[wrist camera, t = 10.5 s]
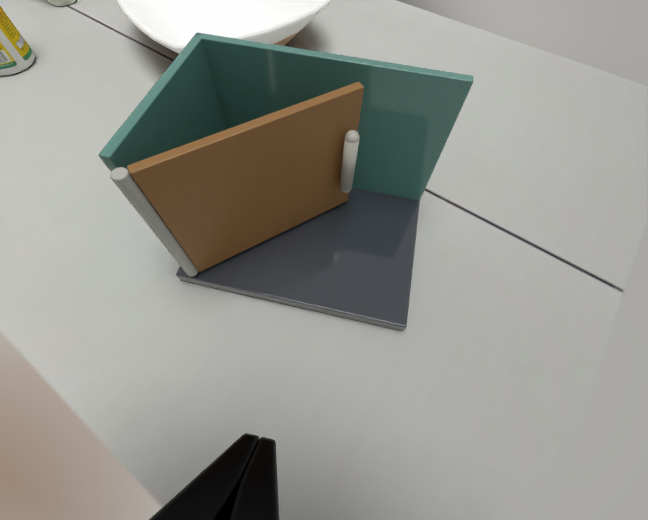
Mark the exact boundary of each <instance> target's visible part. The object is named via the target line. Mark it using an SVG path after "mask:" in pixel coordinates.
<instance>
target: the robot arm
mask: <svg viewBox="0 0 648 520" xmlns="http://www.w3.org/2000/svg"><path fill="white" fill-rule="evenodd" d="M150 520H279V503H278V483H277V462H276V442H275V440H273V439H269V438H265V437H261V438H259V436H256V435H252V434H248V433H246V434H243V435H242V436H241V437H240V438H239V439H238V440H237V441H236V442H234V443H233V444H232V445H231V446H230V447H229V448H228V449H227V450H226V451H224V452H223V453H222V454H221V455H220V456H219V457H218V458H217V459H216V460H215V461H213V462H212V463H211V464H210V465H209V466H208V467H207V468H206V469H205V470H203V471H202V472H201V473H200V474H199V475H198V476H197V477H196V478H195V479H194V480H192V481H191V482H190V483H189V484H188V485H187V486H186V487H185V488H184V489H182V490H181V491H180V492H179V493H178V494H177V495H176V496H175V497H174V498H173V499H171V500H170V501H169V502H168V503H167V504H166V505H165V506H164V507H163V508H161V509H160V510H159V511H158V512H157V513H156V514H155V515H154V516H153V517H152V518H150Z"/></svg>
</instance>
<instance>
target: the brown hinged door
mask: <svg viewBox="0 0 648 520" xmlns="http://www.w3.org/2000/svg"><path fill="white" fill-rule="evenodd" d="M363 92H364V86H363V85H362V84H361V83H360V82H356V83H353V84H351V85H348V86H345V87H342V88H340V89H337V90H334V91H331V92H329V93H326V94H323V95H320V96H318V97H315V98H312V99H309V100H306V101H304V102H301V103H298V104H295V105H293V106H290V107H287V108H284V109H282V110H279V111H276V112H273V113H271V114H268V115H265V116H262V117H260V118H257V119H254V120H251V121H249V122H246V123H243V124H240V125H238V126H235V127H232V128H229V129H227V130H224V131H221V132H218V133H216V134H213V135H210V136H207V137H205V138H202V139H199V140H196V141H194V142H191V143H188V144H185V145H183V146H180V147H177V148H174V149H172V150H169V151H166V152H163V153H160V154H158V155H155V156H152V157H149V158H147V159H144V160H141V161H138V162H136V163H133V164H130V165H128V166H127V168H128V169H126V168H124V167H119V168H116V169H114V170H113V171H112V172H111V173H110V177H111V179H112V180H113V181H114V183H115V184H116V185H117V186H118V188H119V189H120V190H121V192H122V193H123V194H124V195H125V197H126V198H127V199H128V200H129V202H130V203H131V204H132V205H133V207H134V208H135V209H136V210H137V212H138V213H139V214H140V216H141V217H142V218H143V219H144V221H145V222H146V223H147V224H148V226H149V227H150V228H151V229H152V231H153V232H154V233H155V234H156V236H157V237H158V238H159V239H160V241H161V242H162V243H163V245H164V246H165V247H166V248H167V250H168V251H169V252H170V253H171V255H172V256H173V257H174V258H175V260H176V261H177V262H178V263H179V265H180V266H181V267H182V268H183V270H184V271H185V272H186V274H187V275H188V276H195V275H196V274H197V273H198V271H199V272H201V271H203V270H205V269H207V268H209V267H211V266H213V265H216V264H218V263H220V262H222V261H224V260H226V259H228V258H230V257H232V256H234V255H236V254H238V253H240V252H242V251H245V250H247V249H249V248H251V247H253V246H255V245H257V244H259V243H261V242H263V241H265V240H267V239H269V238H271V237H274V236H276V235H278V234H280V233H282V232H284V231H286V230H288V229H290V228H292V227H294V226H296V225H298V224H301V223H303V222H305V221H307V220H309V219H311V218H313V217H315V216H317V215H319V214H321V213H323V212H325V211H327V210H330V209H332V208H334V207H336V206H338V205H340V204H342V203H344V202H346V201H348V195H349V192H350V191H351V189H352V184H353V178H354V171H355V165H356V158H357V152H358V145H359V138H360V137H359V134H358V126H359V119H360V112H361V105H362V98H363Z"/></svg>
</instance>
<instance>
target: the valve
mask: <svg viewBox="0 0 648 520" xmlns="http://www.w3.org/2000/svg"><path fill="white" fill-rule="evenodd" d="M75 1H76V0H48V2H49V3H50V4H52V5H56V6H66V5H70V4H72V3H74V2H75Z"/></svg>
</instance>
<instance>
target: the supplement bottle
mask: <svg viewBox="0 0 648 520" xmlns="http://www.w3.org/2000/svg"><path fill="white" fill-rule="evenodd" d="M34 59H35V55H34V53H33V51H32V49H31V48H30V46H29V45H28V44H27V42H26V41H25V40H24V38H23V37H22V36H21V34H20V33H19V31H18V30H17V29H16V27H15V26H14V25H13V23H12V22H11V20H10V19H9V18H8V16H7V15H6V13H5V12H4V11H3V9H2V8H1V7H0V75H1V76H2V75H11V74H15V73H18V72H21V71H23V70H25V69H27V68H28V67H29V66H30V65H31V64H32V63H33V61H34Z"/></svg>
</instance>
